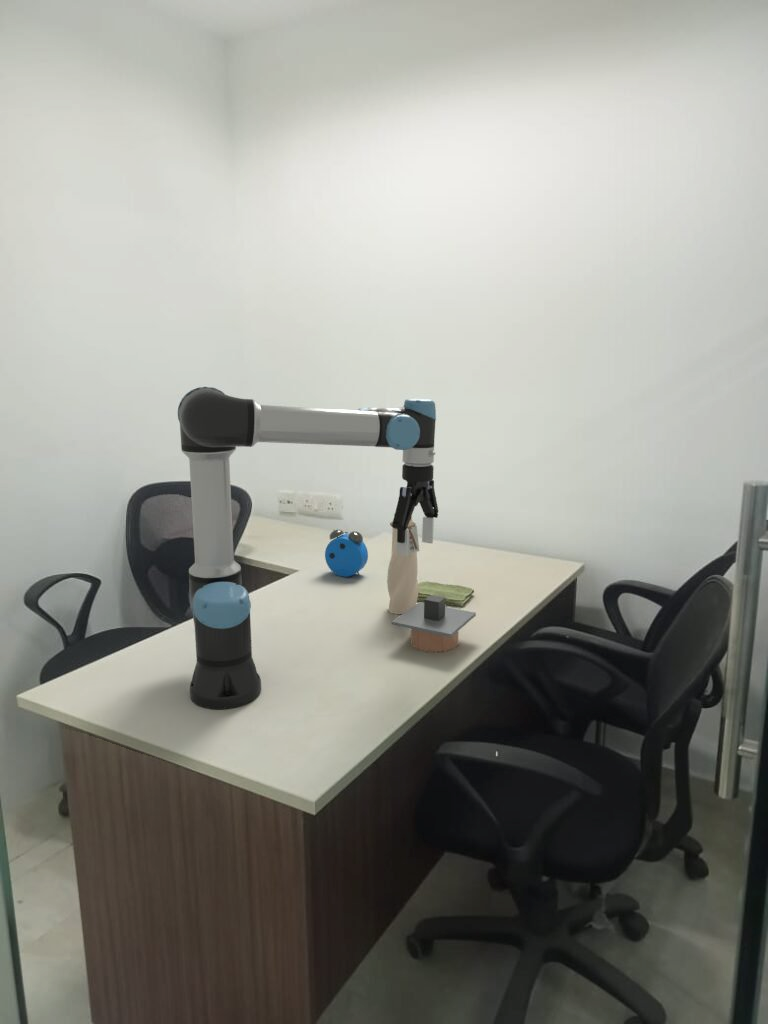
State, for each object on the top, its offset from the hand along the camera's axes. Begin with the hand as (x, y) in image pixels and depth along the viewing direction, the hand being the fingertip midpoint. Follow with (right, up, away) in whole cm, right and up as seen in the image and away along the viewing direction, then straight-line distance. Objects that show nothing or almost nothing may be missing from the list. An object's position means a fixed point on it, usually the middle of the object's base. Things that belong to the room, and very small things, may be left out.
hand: (415, 548), depth 178 cm
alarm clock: (-20, -12, +58) cm, 63 cm away
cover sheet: (+5, -18, +4) cm, 19 cm away
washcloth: (+9, -17, +38) cm, 43 cm away
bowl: (+5, -24, +6) cm, 25 cm away
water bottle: (-2, -19, +27) cm, 33 cm away
